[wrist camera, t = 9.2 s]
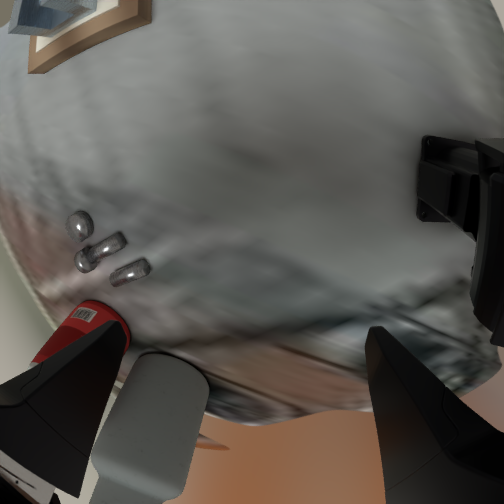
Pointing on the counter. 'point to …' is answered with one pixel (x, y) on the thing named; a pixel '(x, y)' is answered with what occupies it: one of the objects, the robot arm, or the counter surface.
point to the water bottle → (150, 433)
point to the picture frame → (87, 32)
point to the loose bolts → (101, 251)
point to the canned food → (78, 328)
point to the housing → (48, 16)
